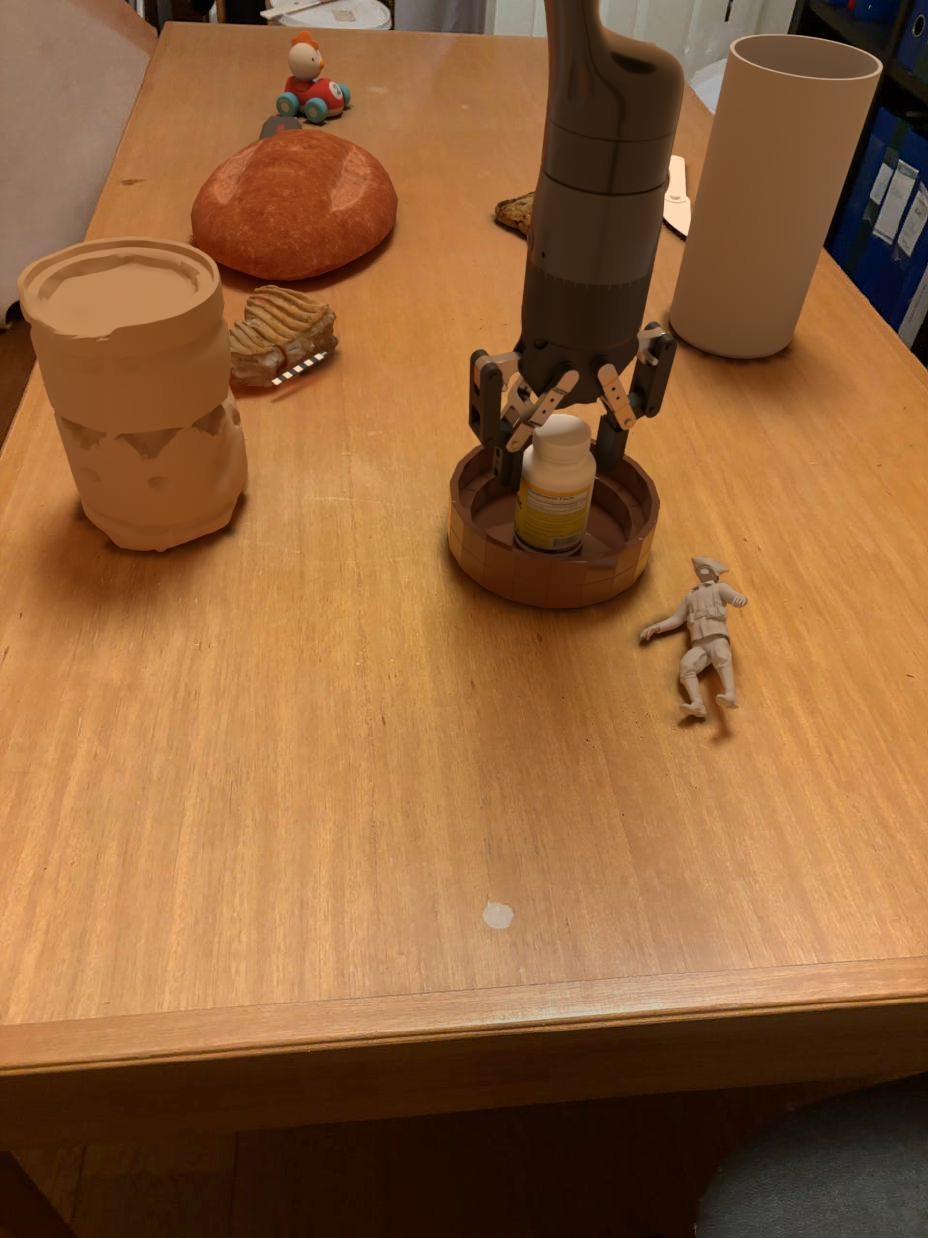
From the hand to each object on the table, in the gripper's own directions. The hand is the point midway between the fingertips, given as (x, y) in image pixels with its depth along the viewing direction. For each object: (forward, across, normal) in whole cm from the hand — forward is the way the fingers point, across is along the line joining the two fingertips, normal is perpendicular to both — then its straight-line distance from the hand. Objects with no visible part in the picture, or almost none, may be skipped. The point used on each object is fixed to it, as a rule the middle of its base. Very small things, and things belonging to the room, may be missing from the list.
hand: (557, 475), depth 66 cm
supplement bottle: (+6, 0, 0) cm, 6 cm away
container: (+7, -26, +14) cm, 30 cm away
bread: (+7, -4, +59) cm, 60 cm away
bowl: (+6, 0, 0) cm, 6 cm away
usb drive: (+7, 0, +83) cm, 83 cm away
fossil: (+7, -13, +30) cm, 33 cm away
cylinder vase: (+7, +32, +24) cm, 41 cm away
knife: (+6, +43, +55) cm, 70 cm away
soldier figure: (+7, +5, -14) cm, 16 cm away
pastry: (+7, +27, +52) cm, 59 cm away
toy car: (+7, +8, +96) cm, 97 cm away
